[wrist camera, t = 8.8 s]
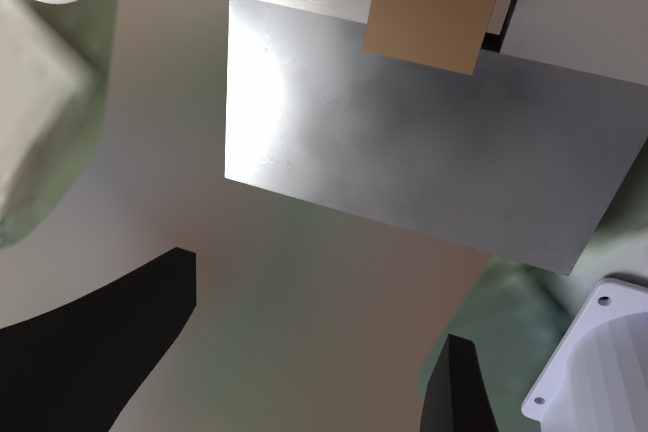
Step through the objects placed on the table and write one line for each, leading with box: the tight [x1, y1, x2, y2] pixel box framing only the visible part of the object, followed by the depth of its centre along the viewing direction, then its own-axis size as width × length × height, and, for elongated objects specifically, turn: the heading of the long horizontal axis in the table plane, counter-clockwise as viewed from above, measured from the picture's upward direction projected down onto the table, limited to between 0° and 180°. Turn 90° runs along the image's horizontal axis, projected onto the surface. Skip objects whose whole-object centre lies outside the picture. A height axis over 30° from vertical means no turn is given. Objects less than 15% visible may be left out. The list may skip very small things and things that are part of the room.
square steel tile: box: [225, 0, 648, 276], centre depth 16 cm, size 16×14×2 cm
